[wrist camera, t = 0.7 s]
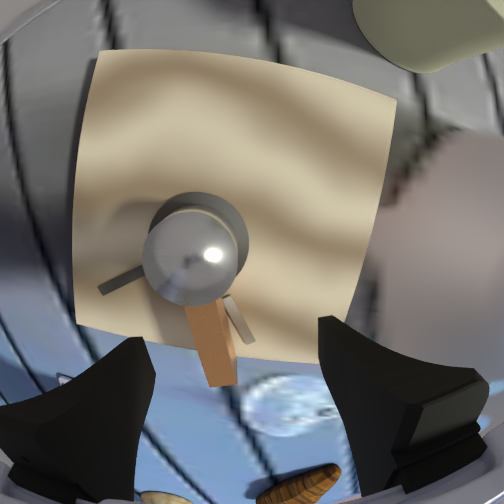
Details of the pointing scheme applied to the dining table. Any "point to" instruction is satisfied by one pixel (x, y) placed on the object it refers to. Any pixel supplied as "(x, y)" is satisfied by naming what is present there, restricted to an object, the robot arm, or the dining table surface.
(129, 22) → the dining table surface
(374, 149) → the base plate
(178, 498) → the hand bell
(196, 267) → the wooden handled dome
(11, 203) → the dining table surface
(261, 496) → the croissant
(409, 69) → the can
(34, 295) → the dining table surface
